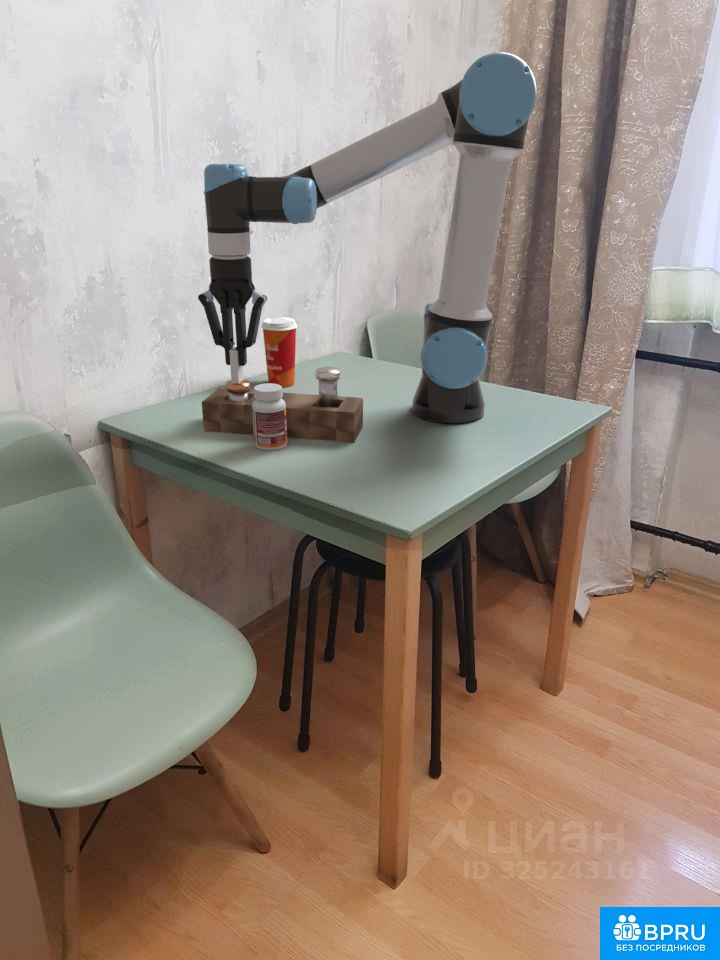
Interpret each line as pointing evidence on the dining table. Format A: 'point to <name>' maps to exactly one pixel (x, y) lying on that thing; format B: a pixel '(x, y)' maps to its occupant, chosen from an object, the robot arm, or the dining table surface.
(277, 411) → the pill bottle
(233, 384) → the knob
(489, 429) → the dining table surface
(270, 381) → the coffee cup
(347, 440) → the brown wooden long block
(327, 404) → the knob
